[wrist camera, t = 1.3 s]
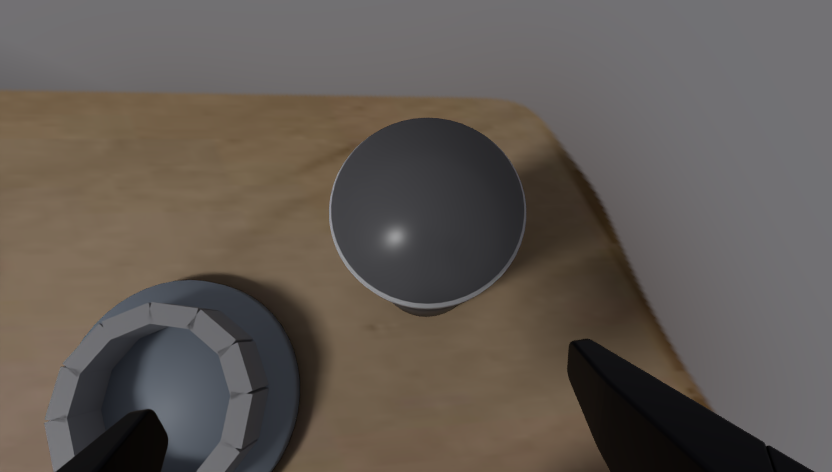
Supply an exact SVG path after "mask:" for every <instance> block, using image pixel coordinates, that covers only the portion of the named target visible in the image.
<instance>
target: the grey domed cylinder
mask: <svg viewBox="0 0 832 472" xmlns="http://www.w3.org/2000/svg"><path fill="white" fill-rule="evenodd" d="M329 222H330V228H331V234H332V237H333V240H334V244H335V246H336V249H337V251H338V253H339V255H340V257H341V259H342V260H343V262H344V264H345V265H346V267H347V268H348V269H349V270H350V272H351V273H352V274H353V275H354V276H355V278H357V279H358V280H359V281H360V282H361V283H362V284H363V285H364V286H365V287H367V288H368V289H370V290H371V291H373V292H374V293H376V294H377V295H379V296H380V297H382V298H384V299H386V300H388V301H390V302H392V303H393V304H395V305H396V306H397V307H399V308H400V309H401V310H403V311H405V312H407V313H409V314H412V315H416V316H423V317H430V316H437V315H440V314H443V313H446V312H448V311H450V310H451V309H453V308H454V307H456V306H457V305H458V304H460V303H463V302H465V301H467V300H469V299H471V298H473V297H475V296H477V295H478V294H480V293H481V292H483V291H484V290H485V289H487V288H488V287H490V286H491V285H492V284H493V283H494V282H496V281H497V280H498V279H499V278H500V277H501V276H502V275H503V273H504V272H505V271H506V270H507V268H508V267H509V266H510V264H511V263H512V261H513V259H514V258H515V256H516V254H517V252H518V250H519V247H520V245H521V242H522V238H523V235H524V231H525V224H526V202H525V195H524V191H523V187H522V184H521V181H520V179H519V176H518V174H517V172H516V170H515V168H514V167H513V165H512V163H511V161H510V160H509V159H508V157H507V156H506V155H505V154H504V152H503V151H502V150H501V149H500V148H499V147H498V146H497V145H496V144H495V143H494V142H492V141H491V140H490V139H488V138H487V137H486V136H485V135H483V134H481V133H480V132H478V131H476V130H474V129H473V128H470V127H468V126H466V125H463V124H461V123H457V122H454V121H451V120H445V119H439V118H417V119H410V120H405V121H401V122H398V123H395V124H392V125H390V126H387V127H385V128H383V129H381V130H379V131H378V132H376V133H374V134H373V135H371V136H369V137H368V138H367V139H366V140H364V141H363V142H362V143H361V144H360V145H359V146H358V147H357V148H356V149H355V150H354V151H353V152H352V153H351V154H350V155H349V157H348V158H347V159H346V161H345V162H344V164H343V166H342V167H341V169H340V171H339V173H338V175H337V177H336V180H335V182H334V185H333V189H332V193H331V197H330V206H329Z"/></svg>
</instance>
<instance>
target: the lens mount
mask: <svg viewBox="0 0 832 472" xmlns="http://www.w3.org/2000/svg"><path fill="white" fill-rule="evenodd" d="M63 364H64V365H65V366H64V367H60V371H59V374H58V377H57V381H56V384H55V387H54V390H53V394H52V397H51V400H50V403H49V407H48V410H47V413H46V416H45V420H51V421H48V422H46V423H44V424H45V429H46V434H47V440H48V445H49V450H50V455H51V461H52V466H53V471H54V472H56V471H57V470H58V469H59V468H61V467H62V466H63V465H64V464H66V463H67V462H68V461H69V460H71V459H72V458H73V457H74V456H75V455H77V454H78V453H79V452H80V451H82V450H83V449H84V448H85V447H87V446H88V445H89V444H90V443H92V442H93V441H94V440H95V439H97V438H98V437H99V436H100V435H102V434H103V433H104V432H105V431H106V430H108V429H109V428H110V427H111V426H113V425H114V424H115V423H116V422H118V421H119V420H120V419H121V418H123V417H124V416H125V415H126V414H128V413H130V412H132V411H137V410H143V409H152V410H153V411H155V413H156V414H157V416H158V418H159V420H160V421H161V423H162V425H163V427H164V429H165V430H166V432H167V435H168V448H167V452H166V455H165V459H164V463H163V466H162V470H161V472H272V471H273V469H274V468H275V466H276V465H277V463H278V462H279V460H280V459H281V457H282V455H283V453H284V451H285V449H286V447H287V445H288V443H289V440H290V437H291V435H292V432H293V429H294V426H295V422H296V418H297V414H298V407H299V398H300V379H299V371H298V364H297V361H296V357H295V353H294V350H293V347H292V345H291V342H290V340H289V338H288V336H287V334H286V332H285V331H284V329H283V327H282V325H281V324H280V323H279V321H278V320H277V319H276V318H275V316H274V315H273V314H272V313H271V312H270V311H269V310H268V309H267V308H266V307H265V306H264V305H263V304H261V303H260V302H259V301H257V300H256V299H255V298H253V297H252V296H250V295H248V294H246V293H244V292H242V291H240V290H238V289H235V288H232V287H229V286H226V285H221V284H217V283H212V282H207V281H197V280H183V281H173V282H168V283H163V284H159V285H156V286H153V287H150V288H147V289H144V290H142V291H140V292H138V293H136V294H134V295H132V296H130V297H129V298H127V299H125V300H124V301H122V302H121V303H119V304H118V305H116V306H115V307H114V308H113V309H111V310H110V311H109V312H107V313H106V314H105V315H104V316H103V317H102V318H101V319H100V320H99V321H98V322H97V323H96V324H95V325H94V326H93V328H92V329H91V330H90V331H89V332H88V334H87V335H86V336H85V337H84V339H83V340H82V342H81V343H80V345H79V346H78V347H77V348H76V349H75V350H74V351H73V353H72V354H71V355H70V356H69V357H68V358H67V359H66V360H65V361H64V363H63Z"/></svg>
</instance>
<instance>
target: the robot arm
mask: <svg viewBox="0 0 832 472" xmlns="http://www.w3.org/2000/svg"><path fill="white" fill-rule="evenodd" d="M567 372H568V377H569V380H570V383H571V385H572V387H573V390H574V392H575V395H576V397H577V399H578V402H579V404H580V407H581V409H582V412H583V414H584V416H585V419H586V421H587V424H588V426H589V428H590V431H591V433H592V436H593V438H594V440H595V442H596V445H597V447H598V449H599V451H600V453H601V455H602V457H603V459H604V460H605V462H606V464H607V466H608V468H609V470H610V472H814V471H812V470H811V469H809V468H807V467H805V466H804V465H802V464H800V463H798V462H797V461H795V460H793V459H792V458H790V457H788V456H786V455H785V454H783V453H781V452H779V451H778V450H776V449H775V448H773V447H771V446H766V445H765V443H764V442H763V441H761V440H759V439H758V438H756V437H754V436H752V435H751V434H749V433H747V432H746V431H744V430H742V429H741V428H739V427H737V426H735V425H734V424H732V423H731V422H729V421H727V420H725V419H724V418H722V417H721V416H719V415H717V414H715V413H714V412H712V411H710V410H709V409H707V408H705V407H704V406H702V405H700V404H699V403H697V402H695V401H694V400H692V399H690V398H689V397H687V396H685V395H683V394H682V393H680V392H678V391H677V390H675V389H673V388H672V387H670V386H668V385H667V384H665V383H663V382H662V381H660V380H658V379H657V378H655V377H653V376H651V375H650V374H648V373H646V372H645V371H643V370H641V369H640V368H638V367H636V366H635V365H633V364H631V363H630V362H628V361H626V360H625V359H623V358H621V357H619V356H618V355H616V354H614V353H613V352H611V351H609V350H608V349H606V348H604V347H603V346H601V345H599V344H598V343H596V342H594V341H592V340H590V339H581V340H575V341H572V342H570V344H569V350H568V365H567ZM167 448H168V435H167V432H166V430H165V429H164V427H163V425H162V423H161V421H160V420H159V418H158V416H157V414H156V413H155V411H153V410H152V409H143V410H137V411H132V412H130V413H128V414H126V415H125V416H124V417H123V418H121V419H120V420H119V421H118V422H116V423H115V424H114V425H113V426H111V427H110V428H109V429H108V430H106V431H105V432H104V433H103V434H102V435H100V436H99V437H98V438H97V439H95V440H94V441H93V442H92V443H90V444H89V445H88V446H87V447H85V448H84V449H83V450H82V451H80V452H79V453H78V454H77V455H75V456H74V457H73V458H72V459H71V460H69V461H68V462H67V463H66V464H64V465H63V466H62V467H61V468H59V469H58V470H57V471H56V472H161V470H162V466H163V463H164V459H165V455H166V452H167Z"/></svg>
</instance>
